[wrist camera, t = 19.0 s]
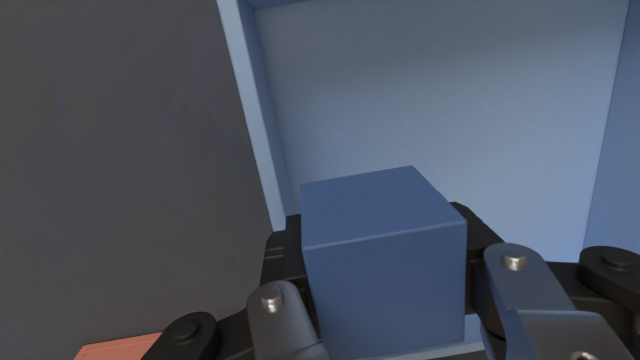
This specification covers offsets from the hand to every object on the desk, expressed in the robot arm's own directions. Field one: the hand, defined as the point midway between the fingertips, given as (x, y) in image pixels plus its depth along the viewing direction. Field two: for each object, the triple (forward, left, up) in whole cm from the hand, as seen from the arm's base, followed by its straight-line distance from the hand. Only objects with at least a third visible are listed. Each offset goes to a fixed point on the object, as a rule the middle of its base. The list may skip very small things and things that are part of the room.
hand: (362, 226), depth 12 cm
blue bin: (+5, 0, -5) cm, 7 cm away
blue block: (0, 0, 0) cm, 0 cm away
